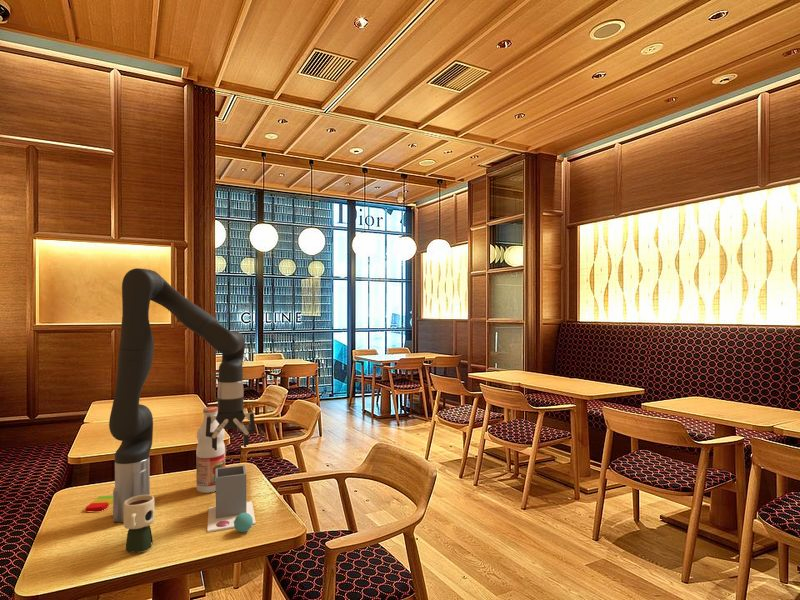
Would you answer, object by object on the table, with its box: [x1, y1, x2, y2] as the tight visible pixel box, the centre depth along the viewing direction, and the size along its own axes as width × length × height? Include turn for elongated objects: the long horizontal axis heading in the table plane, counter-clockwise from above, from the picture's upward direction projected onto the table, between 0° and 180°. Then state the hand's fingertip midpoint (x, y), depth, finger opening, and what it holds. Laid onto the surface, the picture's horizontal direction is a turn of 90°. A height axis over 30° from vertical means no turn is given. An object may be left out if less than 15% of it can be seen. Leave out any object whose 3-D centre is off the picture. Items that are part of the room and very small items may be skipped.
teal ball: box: [234, 513, 253, 533], centre depth 133 cm, size 5×5×5 cm
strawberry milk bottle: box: [195, 406, 226, 494], centre depth 164 cm, size 9×9×28 cm
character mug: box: [123, 494, 155, 553], centre depth 123 cm, size 11×7×13 cm, turn 12°
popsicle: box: [85, 492, 113, 512], centre depth 153 cm, size 6×15×2 cm, turn 7°
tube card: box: [207, 464, 257, 533], centre depth 142 cm, size 13×16×12 cm
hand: (230, 448), depth 145 cm, fingers open, 8 cm apart
